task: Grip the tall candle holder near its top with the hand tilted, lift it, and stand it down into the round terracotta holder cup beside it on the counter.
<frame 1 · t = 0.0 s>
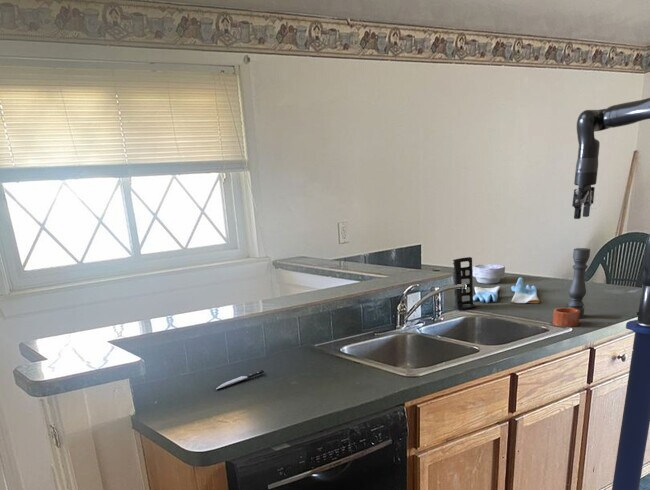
hand: (581, 217, 243), 35 cm above the countertop, tool pointing down, fingers open, 8 cm apart
paper bowls: (487, 282, 319), on the countertop
chef's knife: (237, 381, 194), on the countertop
holder: (462, 307, 271), on the countertop
rubber gloves: (504, 296, 288), on the countertop
candle holder: (574, 317, 248), on the countertop
holder cup: (565, 323, 239), on the countertop
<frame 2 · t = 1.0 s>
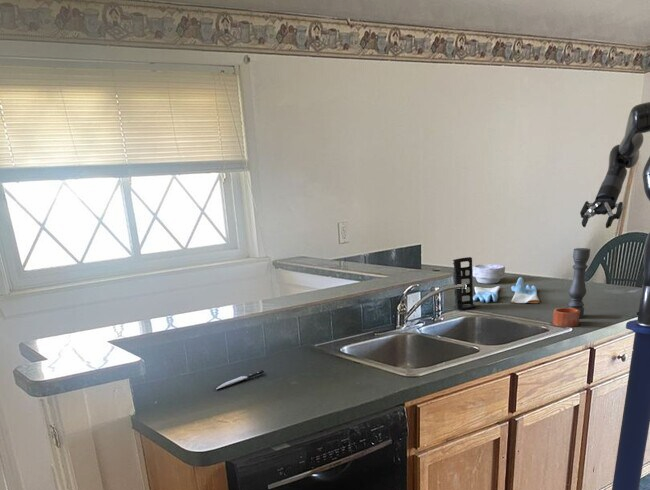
hand: (595, 226, 244), 32 cm above the countertop, tool tilted 45°, fingers open, 8 cm apart
nothing on the countertop moved.
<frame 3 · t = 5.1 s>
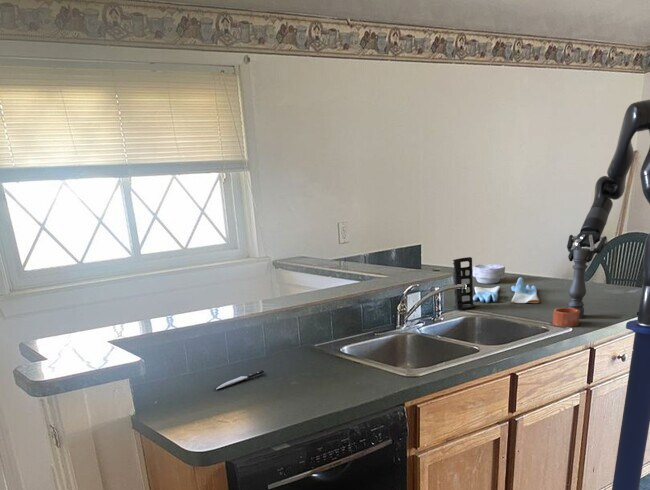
hand: (579, 260, 239), 21 cm above the countertop, tool tilted 45°, fingers closed on candle holder, 5 cm apart
candle holder: (574, 317, 248), on the countertop, touching gripper
everything else where it was.
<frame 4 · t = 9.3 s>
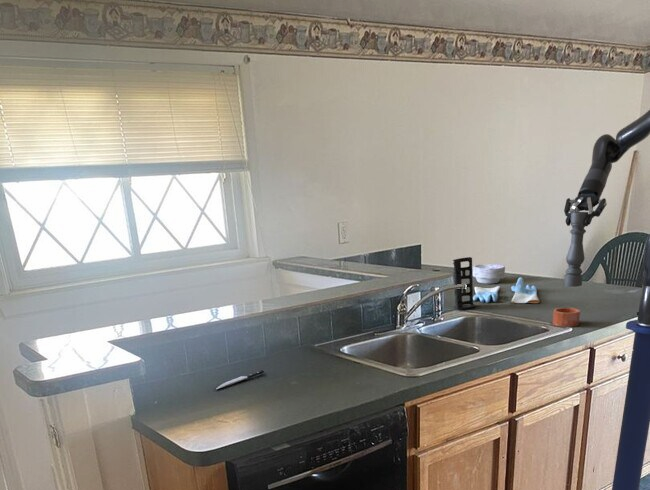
hand: (576, 224, 227), 35 cm above the countertop, tool tilted 45°, fingers closed on candle holder, 5 cm apart
candle holder: (572, 285, 237), point 13 cm above the countertop, touching gripper
everything else where it was.
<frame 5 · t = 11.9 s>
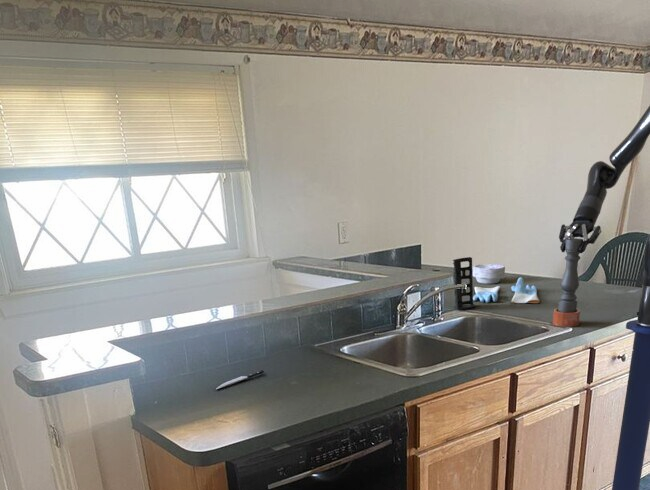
hand: (571, 251, 228), 26 cm above the countertop, tool tilted 45°, fingers closed on candle holder, 5 cm apart
candle holder: (567, 311, 237), point 5 cm above the countertop, touching gripper
everything else where it was.
when the fingers open (22 cm above the countertop, at t = 13.7 s): candle holder stays where it is, resting on holder cup.
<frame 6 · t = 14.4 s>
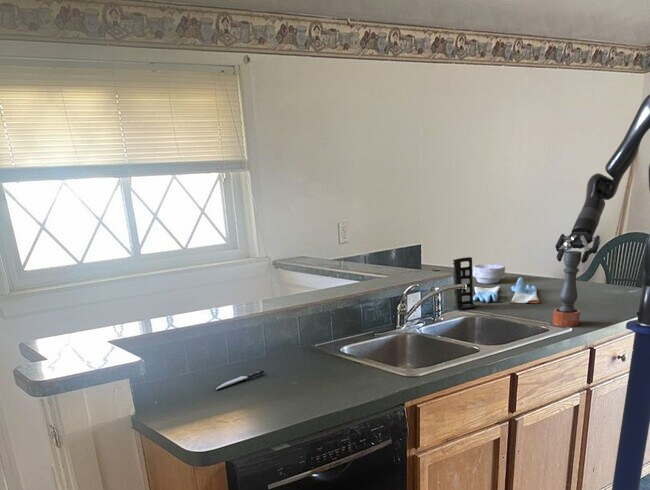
hand: (570, 260, 229), 23 cm above the countertop, tool tilted 45°, fingers open, 8 cm apart
candle holder: (565, 322, 239), resting on holder cup
everything else where it was.
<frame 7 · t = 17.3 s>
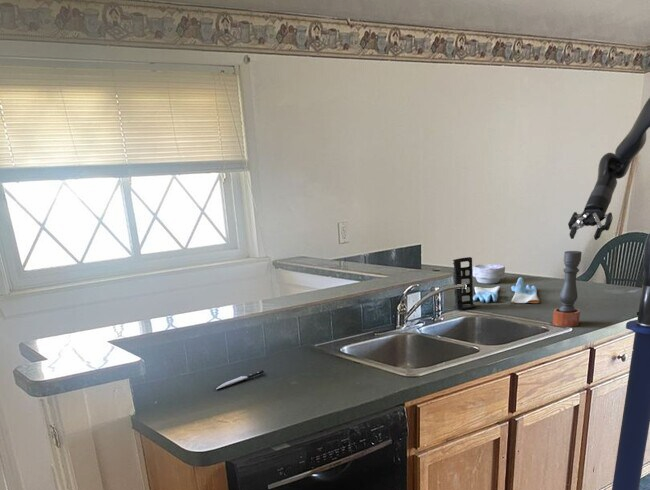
hand: (583, 237, 234), 29 cm above the countertop, tool tilted 45°, fingers open, 8 cm apart
nothing on the countertop moved.
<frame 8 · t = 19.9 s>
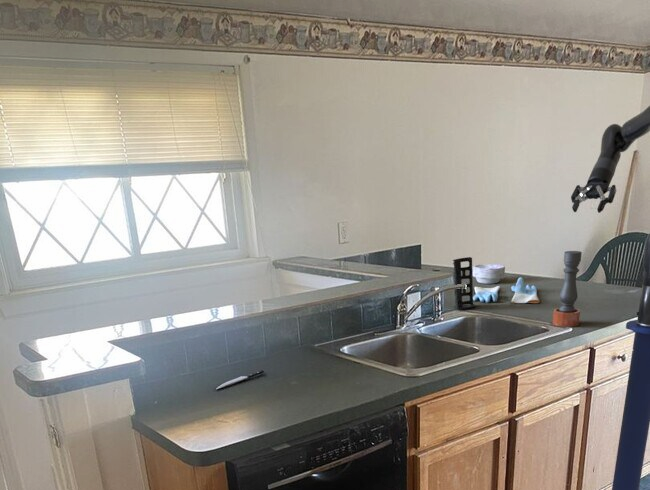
hand: (586, 210, 230), 39 cm above the countertop, tool tilted 45°, fingers open, 8 cm apart
nothing on the countertop moved.
at the end: candle holder 0.2 cm off-centre in the holder cup, point 0.4 cm above the holder cup's base; candle holder tilted 0°; the gripper is holding nothing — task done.
